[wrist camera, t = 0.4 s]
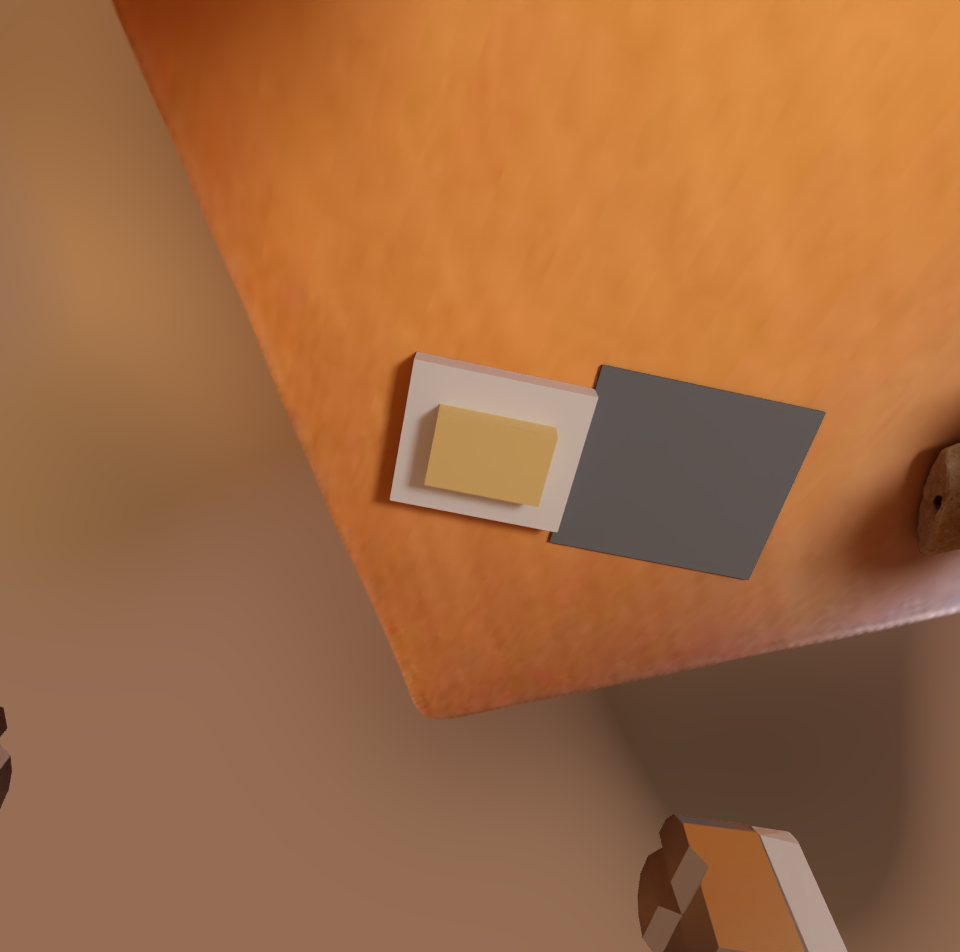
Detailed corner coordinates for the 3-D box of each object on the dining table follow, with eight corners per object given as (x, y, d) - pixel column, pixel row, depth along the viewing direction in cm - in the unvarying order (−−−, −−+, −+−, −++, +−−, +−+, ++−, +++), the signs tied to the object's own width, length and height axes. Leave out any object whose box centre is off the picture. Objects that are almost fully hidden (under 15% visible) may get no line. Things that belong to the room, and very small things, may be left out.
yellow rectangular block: (426, 473, 54) (424, 484, 53) (440, 403, 52) (438, 413, 50) (536, 495, 55) (538, 507, 53) (555, 427, 52) (558, 437, 51)
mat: (602, 364, 52) (602, 365, 52) (824, 411, 54) (825, 413, 53) (549, 540, 59) (549, 542, 59) (747, 578, 61) (748, 580, 60)
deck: (416, 351, 52) (414, 359, 50) (594, 388, 53) (598, 397, 51) (392, 489, 57) (389, 500, 55) (555, 520, 58) (557, 532, 57)
